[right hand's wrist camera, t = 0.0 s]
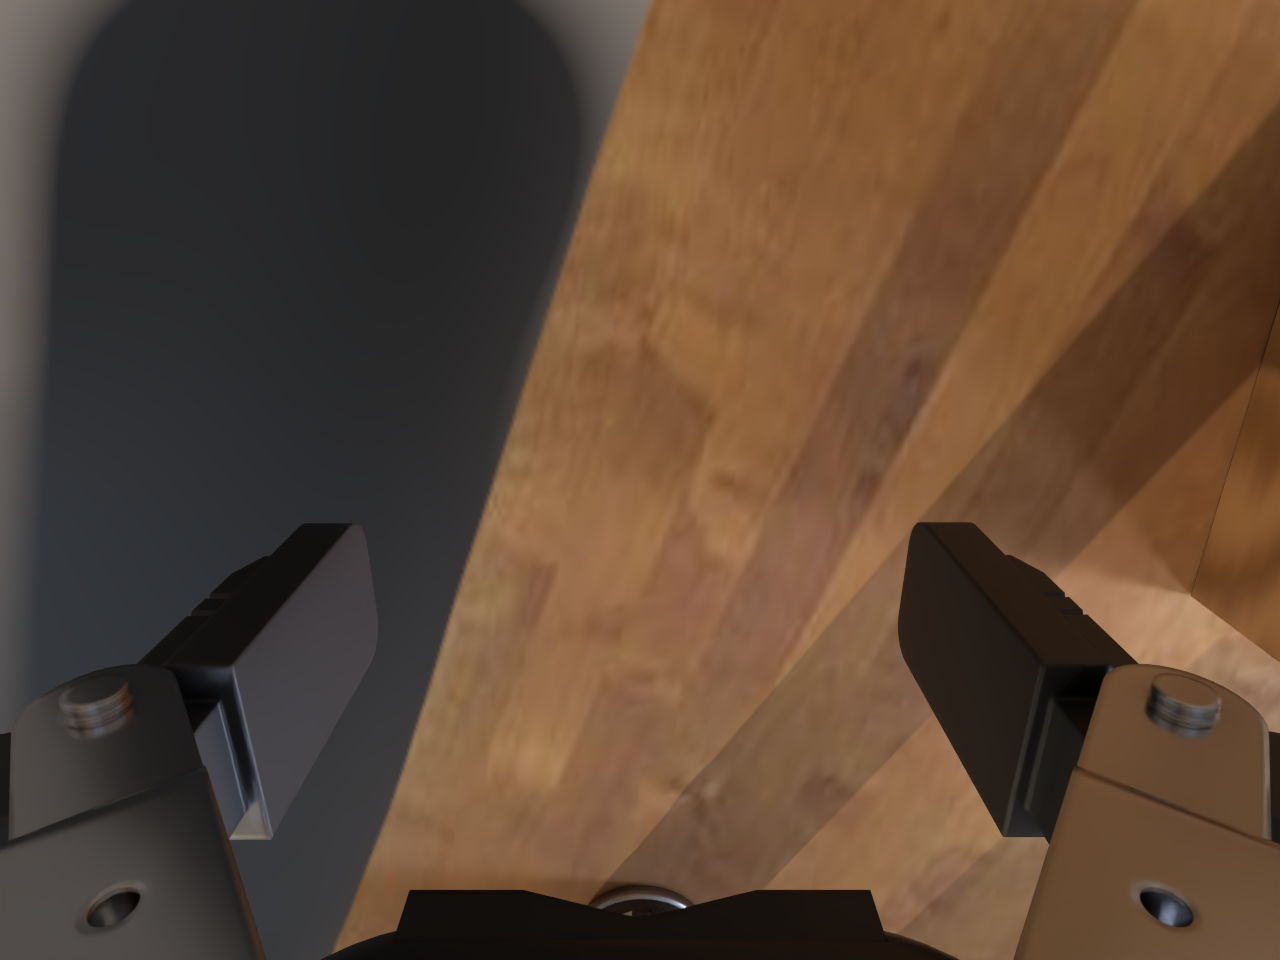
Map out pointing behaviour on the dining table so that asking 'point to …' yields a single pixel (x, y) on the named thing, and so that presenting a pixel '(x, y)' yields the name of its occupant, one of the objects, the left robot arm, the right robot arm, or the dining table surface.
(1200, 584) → the bar
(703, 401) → the dining table surface
